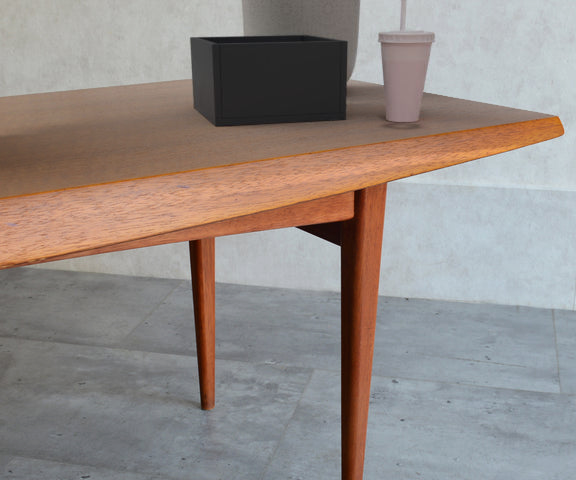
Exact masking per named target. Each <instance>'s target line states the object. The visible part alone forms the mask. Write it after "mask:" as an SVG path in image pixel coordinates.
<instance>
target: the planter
mask: <svg viewBox="0 0 576 480" xmlns="http://www.w3.org/2000/svg"><path fill="white" fill-rule="evenodd" d="M241 13H242V31H243V32H242V34H243V36H275V35H311V36H318V37H325V38H331V39H338V40H344V41H348V51H347V83H348V82H349V80H350V79H351V77H352V76H353V73H354V70H355V67H356V62H357V55H358V48H359V47H358V46H359V34H360V33H359V32H360V13H361V0H241Z"/></svg>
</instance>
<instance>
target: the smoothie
mask: <svg viewBox="0 0 576 480" xmlns="http://www.w3.org/2000/svg"><path fill="white" fill-rule="evenodd" d="M406 16H407V0H401V1H400V19H399V20H400V21H399V30H389V31H380V32H379V33H378V40H377V42H378V43H380V52H381V53H380V55H381V66H382V67H381V68H382V79H383V93H384V107H385V117H386V118H385V119H386V121H388V122H393V123H413V122H418V121H419V119H420V112H421V108H422V107H421V106H422V101H423V96H424V90H425V85H426V80H427V73H428V68H429V63H430V56H431V51H432V46H433V43H435V42H436V39H435V38H436V33H435V32H434V31H425V30H406V19H407V17H406Z"/></svg>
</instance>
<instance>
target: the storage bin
mask: <svg viewBox="0 0 576 480" xmlns="http://www.w3.org/2000/svg"><path fill="white" fill-rule="evenodd" d="M189 43H190V44H189V45H190V62H191V63H190V64H191V78H192V79H191V81H192V83H191V85H192V100H193V102H192V103H193V108H194V109H195V110H196V111H197V112H198V113H199V114H200V115H202V116H203V117H204V118H205V119H207V120H208V121H209V122H210V123H211V124H212V125H213V126H214V127H229V126H231V127H232V126H248V125H269V124H286V123H306V122H307V123H308V122H325V121H326V122H327V121H345V120H347V92H348V91H347V90H348V82H347V51H348V41H344V40H338V39H331V38H325V37H318V36H311V35H275V36H244V35H235V36H234V35H233V36H231V35H230V36H228V35H227V36H190V37H189Z"/></svg>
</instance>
